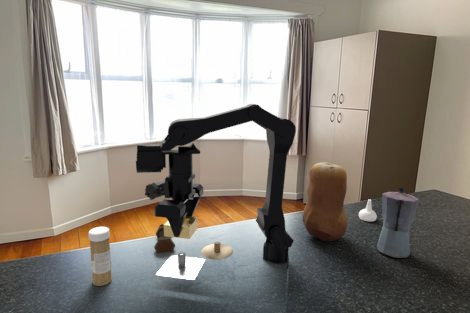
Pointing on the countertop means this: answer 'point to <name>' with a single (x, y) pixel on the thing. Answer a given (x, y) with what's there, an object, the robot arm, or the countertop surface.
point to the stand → (217, 251)
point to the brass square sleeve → (183, 228)
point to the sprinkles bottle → (100, 255)
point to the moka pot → (397, 223)
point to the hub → (181, 267)
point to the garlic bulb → (368, 213)
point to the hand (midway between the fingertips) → (181, 230)
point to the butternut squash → (326, 202)
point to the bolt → (163, 241)
